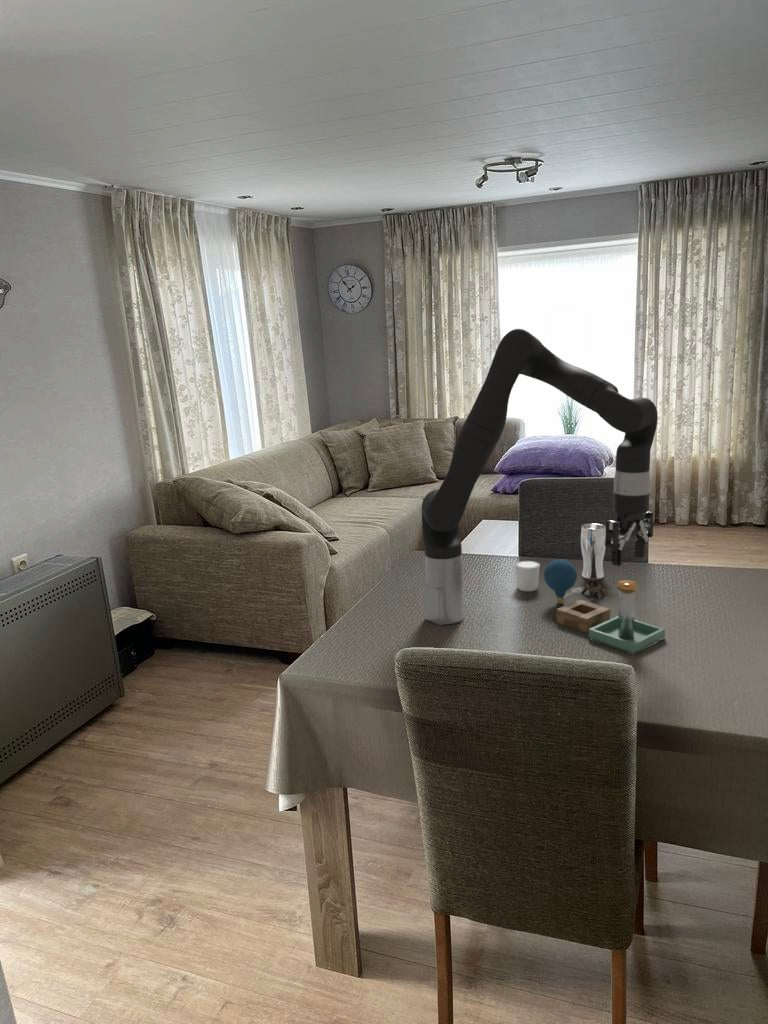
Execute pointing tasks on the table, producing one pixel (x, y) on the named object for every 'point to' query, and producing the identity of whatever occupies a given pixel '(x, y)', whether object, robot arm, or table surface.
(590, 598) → the eiffel tower figurine
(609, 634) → the tray
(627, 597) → the pin
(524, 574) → the white cylinder
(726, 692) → the table surface
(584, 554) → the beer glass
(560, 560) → the light bulb
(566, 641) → the table surface
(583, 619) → the socket block
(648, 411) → the robot arm
